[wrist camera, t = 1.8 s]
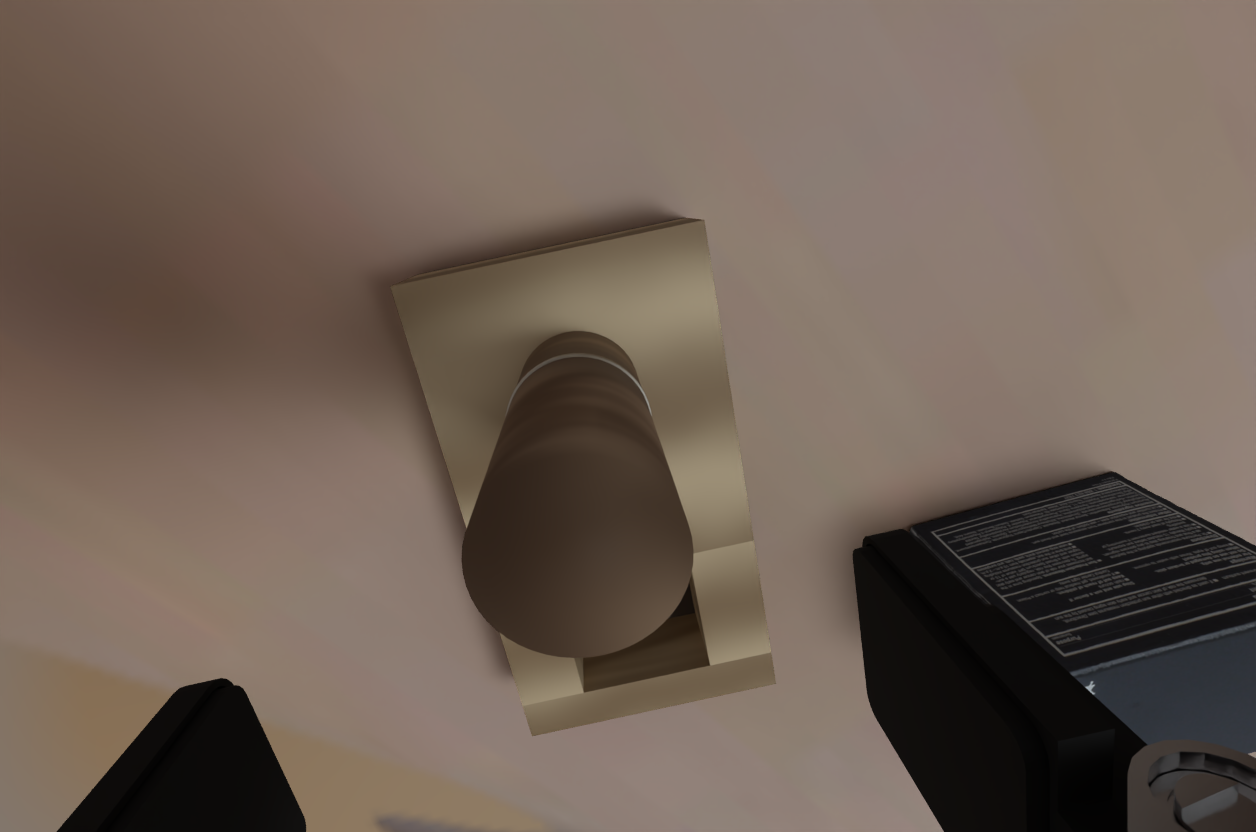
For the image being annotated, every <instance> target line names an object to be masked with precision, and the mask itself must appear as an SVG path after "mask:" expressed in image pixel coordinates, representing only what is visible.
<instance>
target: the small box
mask: <svg viewBox="0 0 1256 832" xmlns="http://www.w3.org/2000/svg"><path fill="white" fill-rule="evenodd" d="M909 534H910V535H911V536H912V537H913V538H914V539H915V540H916V541H917V542H919V543H920V544H921V545H922V546H923V547H924V548H925V549H926V550H927V551H928V552H929V553H930V554H931V555H932V556H933V557H934V558H935V559H936V560H938V561H939V562H940V563H941V564H942V565H943V566H944V567H945V568H946V569H947V570H948V571H949V572H950V573H951V574H952V575H953V576H954V577H955V578H957V579H958V580H959V581H960V582H961V583H962V584H963V585H964V586H965V587H966V588H967V589H968V590H969V591H970V592H971V593H972V594H973V595H974V596H976V597H977V598H978V599H979V600H980V601H981V602H982V603H983V604H991V605H995V606H996V607H997V608H999V609H1000V610H1002V611H1003V612H1004V613H1005V614H1006V615H1007V616H1008V617H1010V618H1011V619H1012V620H1013V621H1014V622H1015V623H1016V624H1017V625H1018V626H1019V627H1020V628H1021V629H1023V630H1024V631H1025V632H1026V633H1027V634H1028V635H1029V636H1030V637H1031V638H1032V639H1033V640H1034V641H1036V642H1037V643H1038V644H1039V645H1040V646H1041V647H1042V648H1043V649H1044V650H1045V651H1046V652H1047V653H1049V654H1050V655H1051V656H1052V657H1053V658H1054V659H1055V660H1056V661H1057V662H1058V663H1059V664H1061V665H1062V666H1063V667H1064V668H1065V669H1066V670H1067V671H1068V672H1069V673H1070V674H1071V675H1072V676H1074V677H1075V678H1076V679H1077V680H1078V681H1079V682H1080V683H1081V684H1082V685H1083V686H1084V687H1085V688H1087V689H1088V690H1089V691H1090V692H1091V693H1092V694H1093V695H1094V696H1095V697H1096V698H1097V699H1098V700H1100V701H1101V702H1102V703H1103V704H1104V705H1105V706H1106V707H1107V708H1108V709H1109V710H1110V711H1112V712H1113V713H1114V714H1115V715H1116V716H1117V717H1118V718H1119V719H1120V720H1121V721H1122V722H1123V723H1125V724H1126V725H1127V726H1128V727H1129V728H1130V729H1131V730H1132V731H1133V732H1134V733H1135V734H1136V735H1138V736H1139V737H1140V738H1141V739H1142V740H1143V741H1144V742H1145V743H1146V744H1147V745H1151V744H1154V743H1157V742H1160V741H1163V740H1195V741H1201V742H1207V743H1213V744H1218V745H1221V746H1224V747H1227V748H1230V749H1233V750H1236V751H1239V752H1242V753H1245V754H1248V753H1252V752H1256V546H1255V545H1253V544H1251V543H1249V542H1247V541H1245V540H1244V539H1242V538H1240V537H1238V536H1236V535H1234V534H1232V533H1230V532H1228V531H1226V530H1224V529H1222V528H1220V527H1218V526H1216V525H1214V524H1212V523H1210V522H1208V521H1206V520H1204V519H1202V518H1200V517H1198V516H1197V515H1195V514H1193V513H1191V512H1189V511H1187V510H1185V509H1183V508H1181V507H1178V506H1176V505H1175V504H1173V503H1172V502H1170V501H1168V500H1166V499H1164V498H1162V497H1160V496H1158V495H1155V494H1154V493H1152V492H1150V491H1148V490H1146V489H1145V488H1143V487H1141V486H1139V485H1137V484H1136V483H1133V482H1131V481H1130V480H1127V479H1126V478H1124V477H1123V476H1121V475H1120V474H1118V473H1116V472H1112V473H1108V474H1105V475H1101V476H1097V477H1093V478H1089V479H1085V480H1082V481H1078V482H1074V483H1071V484H1067V485H1063V486H1060V487H1056V488H1052V489H1048V490H1045V491H1041V492H1037V493H1034V494H1030V495H1026V496H1022V497H1019V498H1015V499H1012V500H1008V501H1004V502H1000V503H996V504H993V505H989V506H985V507H982V508H978V509H974V510H971V511H967V512H963V513H959V514H956V515H952V516H948V517H945V518H942V519H937V520H934V521H930V522H927V523H923V524H919V525H915V526H912V527H911V529H910V532H909Z"/></svg>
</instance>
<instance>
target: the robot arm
mask: <svg viewBox="0 0 1256 832" xmlns="http://www.w3.org/2000/svg"><path fill="white" fill-rule="evenodd" d="M862 546H863V547H862V548H857V549H855V550H854V551H853V564H854V574H855V583H856V593H857V602H858V612H859V621H860V631H861V640H862V650H863V659H864V669H865V678H866V688H867V694H868V699H869V702H870V705H871V708H872V711H873V713H874V715H875V717H876V719H877V721H878V722H879V724H880V726H881V727H882V729H883V731H884V732H885V734H886V736H887V737H888V739H889V741H890V742H891V744H892V746H893V747H894V749H895V751H896V752H897V754H898V756H899V757H900V759H901V761H902V762H903V764H904V766H905V767H906V769H907V771H908V772H909V774H910V776H911V777H912V779H913V781H914V782H915V784H916V786H917V787H918V789H919V791H920V792H921V794H922V796H923V797H924V799H925V801H926V802H927V804H928V806H929V807H930V809H931V811H932V812H933V814H934V816H935V817H936V819H937V821H938V822H939V824H940V826H941V827H942V829H943V831H944V832H1256V758H1254V757H1252V756H1250V755H1248V754H1245V753H1242V752H1239V751H1236V750H1233V749H1230V748H1227V747H1224V746H1221V745H1218V744H1213V743H1207V742H1201V741H1195V740H1163V741H1160V742H1157V743H1154V744H1151V745H1147V744H1146V743H1145V742H1144V741H1143V740H1142V739H1141V738H1140V737H1139V736H1138V735H1136V734H1135V733H1134V732H1133V731H1132V730H1131V729H1130V728H1129V727H1128V726H1127V725H1126V724H1125V723H1123V722H1122V721H1121V720H1120V719H1119V718H1118V717H1117V716H1116V715H1115V714H1114V713H1113V712H1112V711H1110V710H1109V709H1108V708H1107V707H1106V706H1105V705H1104V704H1103V703H1102V702H1101V701H1100V700H1098V699H1097V698H1096V697H1095V696H1094V695H1093V694H1092V693H1091V692H1090V691H1089V690H1088V689H1087V688H1085V687H1084V686H1083V685H1082V684H1081V683H1080V682H1079V681H1078V680H1077V679H1076V678H1075V677H1074V676H1072V675H1071V674H1070V673H1069V672H1068V671H1067V670H1066V669H1065V668H1064V667H1063V666H1062V665H1061V664H1059V663H1058V662H1057V661H1056V660H1055V659H1054V658H1053V657H1052V656H1051V655H1050V654H1049V653H1047V652H1046V651H1045V650H1044V649H1043V648H1042V647H1041V646H1040V645H1039V644H1038V643H1037V642H1036V641H1034V640H1033V639H1032V638H1031V637H1030V636H1029V635H1028V634H1027V633H1026V632H1025V631H1024V630H1023V629H1021V628H1020V627H1019V626H1018V625H1017V624H1016V623H1015V622H1014V621H1013V620H1012V619H1011V618H1010V617H1008V616H1007V615H1006V614H1005V613H1004V612H1003V611H1002V610H1000V609H999V608H997V607H996V606H995V605H991V604H983V603H982V602H981V601H980V600H979V599H978V598H977V597H976V596H974V595H973V594H972V593H971V592H970V591H969V590H968V589H967V588H966V587H965V586H964V585H963V584H962V583H961V582H960V581H959V580H958V579H957V578H955V577H954V576H953V575H952V574H951V573H950V572H949V571H948V570H947V569H946V568H945V567H944V566H943V565H942V564H941V563H940V562H939V561H938V560H936V559H935V558H934V557H933V556H932V555H931V554H930V553H929V552H928V551H927V550H926V549H925V548H924V547H923V546H922V545H921V544H920V543H919V542H917V541H916V540H915V539H914V538H913V537H912V536H911V535H910V534H909V533H908V532H907V531H905V530H904V529H898V530H893V531H889V532H884V533H879V534H875V535H870V536H866V537H865V538H864V539H863V544H862ZM57 832H306V822H305V818H304V816H303V814H302V811H301V809H300V808H299V805H298V803H297V801H296V799H295V796H294V794H293V792H292V790H291V788H290V786H289V784H288V781H287V779H286V777H285V775H284V773H283V771H282V769H281V767H280V764H279V762H278V760H277V758H276V756H275V754H274V752H273V750H272V748H271V745H270V743H269V741H268V739H267V737H266V735H265V733H264V730H263V728H262V726H261V724H260V722H259V720H258V718H257V716H256V713H255V711H254V709H253V707H252V705H251V703H250V701H249V698H248V696H247V694H246V692H245V691H244V689H243V688H241V687H240V686H236V685H233V684H232V682H230V681H229V680H227V679H223V678H220V679H215V680H211V681H206V682H202V683H197V684H193V685H188V686H185V687H182V688H179V689H178V690H177V691H176V692H175V693H174V694H173V695H172V696H171V697H170V698H169V700H168V701H167V702H166V703H165V705H164V706H163V707H162V708H161V709H160V710H159V712H158V713H157V714H156V715H155V716H154V717H153V718H152V720H151V721H150V722H149V723H148V725H147V726H146V727H145V728H144V729H143V730H142V731H141V733H140V734H139V735H138V736H137V737H136V739H135V740H134V741H133V742H132V743H131V745H130V746H129V747H128V748H127V749H126V750H125V752H124V753H123V754H122V755H121V756H120V758H119V759H118V760H117V761H116V762H115V763H114V765H113V766H112V767H111V768H110V769H109V771H108V772H107V773H106V774H105V775H104V776H103V778H102V779H101V780H100V781H99V782H98V784H97V785H96V786H95V787H94V788H93V789H92V791H91V792H90V793H89V794H88V795H87V797H86V798H85V799H84V800H83V801H82V802H81V804H80V805H79V806H78V807H77V808H76V810H75V811H74V812H73V813H72V814H71V815H70V817H69V818H68V819H67V820H66V821H65V822H64V824H63V825H62V826H61V827H60V829H59V830H58V831H57Z"/></svg>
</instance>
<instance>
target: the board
mask: <svg viewBox="0 0 1256 832" xmlns="http://www.w3.org/2000/svg"><path fill="white" fill-rule="evenodd" d="M390 288H391V291H392V294H393V298H394V301H395V304H396V307H397V310H398V313H399V317H400V320H401V323H402V326H403V329H404V332H405V336H406V339H407V342H408V345H409V348H410V351H411V355H412V358H413V361H414V364H415V367H416V370H417V374H418V377H419V380H420V383H421V386H422V389H423V392H424V396H425V399H426V402H427V405H428V408H429V411H430V415H431V418H432V421H433V424H434V427H435V430H436V434H437V437H438V440H439V443H440V446H441V449H442V453H443V456H444V459H445V462H446V465H447V468H448V472H449V475H450V478H451V481H452V484H453V487H454V491H455V494H456V497H457V500H458V503H459V506H460V509H461V513H462V516H463V519H464V522H465V525H466V528H467V526H468V523H469V520H470V518H471V515H472V512H473V509H474V506H475V503H476V500H477V498H478V495H479V492H480V489H481V486H482V483H483V480H484V478H485V475H486V472H487V469H488V466H489V463H490V460H491V458H492V455H493V452H494V449H495V446H496V443H497V440H498V438H499V435H500V432H501V429H502V426H503V423H504V420H505V417H506V412H507V407H508V404H509V401H510V398H511V396H512V394H513V392H514V390H515V388H516V386H517V383H518V380H519V377H520V375H521V372H522V369H523V366H524V364H525V362H526V361H527V359H528V357H529V356H530V355H531V353H532V352H533V351H534V350H535V349H536V348H537V347H538V346H539V345H540V344H542V343H543V342H544V341H546V340H548V339H549V338H551V337H553V336H556V335H558V334H562V333H565V332H571V331H586V332H592V333H596V334H599V335H602V336H604V337H606V338H608V339H610V340H612V341H613V342H615V343H616V344H617V345H619V346H620V347H621V348H622V349H623V350H624V351H625V352H626V354H627V355H628V356H629V358H630V359H631V361H632V363H633V365H634V367H635V369H636V372H637V375H638V378H639V381H640V384H641V387H642V389H643V391H644V392H645V395H646V397H647V399H648V402H649V406H650V409H651V414H652V419H653V422H654V425H655V428H656V431H657V433H658V436H659V439H660V442H661V445H662V448H663V451H664V454H665V457H666V460H667V463H668V466H669V469H670V471H671V474H672V477H673V480H674V483H675V486H676V489H677V492H678V495H679V498H680V501H681V504H682V507H683V509H684V512H685V515H686V518H687V521H688V524H689V528H690V531H691V535H692V541H693V550H694V553H693V567H692V573H691V578H690V581H689V584H688V587H687V589H686V592H685V594H684V596H683V598H682V600H681V601H680V603H679V604H678V606H677V607H676V609H675V610H674V612H673V613H672V614H671V615H670V617H669V618H668V619H667V620H666V621H665V622H664V623H663V624H662V625H661V626H660V627H659V628H657V629H656V630H655V631H654V632H653V633H651V634H650V635H648V636H647V637H645V638H644V639H643V640H641V641H639V642H637V643H635V644H633V645H631V646H629V647H627V648H624V649H622V650H619V651H616V652H613V653H609V654H605V655H601V656H594V657H586V658H566V657H557V656H551V655H546V654H542V653H539V652H535V651H532V650H530V649H527V648H525V647H523V646H520V645H518V644H517V643H515V642H513V641H511V640H509V639H508V638H506V637H505V636H504V635H502V634H501V633H500V632H499V633H500V636H501V639H502V642H503V645H504V649H505V652H506V655H507V658H508V661H509V664H510V668H511V671H512V674H513V677H514V680H515V683H516V687H517V690H518V693H519V696H520V699H521V702H522V706H523V709H524V712H525V715H526V718H527V721H528V725H529V728H530V731H531V734H532V736H536V735H540V734H545V733H550V732H554V731H559V730H564V729H568V728H573V727H577V726H582V725H587V724H591V723H596V722H601V721H605V720H610V719H615V718H619V717H624V716H628V715H633V714H638V713H642V712H647V711H652V710H656V709H661V708H666V707H670V706H675V705H679V704H684V703H689V702H693V701H698V700H703V699H707V698H712V697H717V696H721V695H726V694H730V693H735V692H740V691H744V690H749V689H754V688H758V687H763V686H768V685H772V684H776V681H775V674H774V668H773V662H772V655H771V649H770V642H769V636H768V629H767V623H766V616H765V610H764V603H763V597H762V590H761V584H760V577H759V571H758V565H757V558H756V552H755V545H754V539H753V532H752V526H751V519H750V513H749V506H748V500H747V493H746V487H745V480H744V474H743V468H742V461H741V455H740V448H739V442H738V435H737V429H736V422H735V416H734V409H733V403H732V396H731V390H730V383H729V377H728V371H727V364H726V358H725V351H724V345H723V338H722V332H721V325H720V319H719V312H718V306H717V299H716V293H715V286H714V280H713V274H712V267H711V261H710V254H709V248H708V241H707V235H706V228H705V222H704V220H701V219H692V218H683V219H678V220H673V221H668V222H664V223H659V224H654V225H650V226H645V227H640V228H635V229H631V230H626V231H621V232H617V233H612V234H607V235H602V236H598V237H593V238H588V239H583V240H579V241H574V242H569V243H565V244H560V245H555V246H550V247H546V248H541V249H536V250H531V251H527V252H522V253H517V254H513V255H508V256H503V257H498V258H494V259H489V260H484V261H479V262H475V263H470V264H465V265H461V266H456V267H451V268H446V269H442V270H437V271H432V272H428V273H423V274H418V275H416V276H413V277H411V278H409V279H406V280H404V281H401V282H399V283H397V284H394V285H392V286H390Z"/></svg>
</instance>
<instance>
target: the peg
mask: <svg viewBox="0 0 1256 832" xmlns="http://www.w3.org/2000/svg"><path fill="white" fill-rule="evenodd" d="M693 553H694V550H693V541H692V535H691V531H690V528H689V524H688V521H687V518H686V515H685V512H684V509H683V507H682V504H681V501H680V498H679V495H678V492H677V489H676V486H675V483H674V480H673V477H672V474H671V471H670V469H669V466H668V463H667V460H666V457H665V454H664V451H663V448H662V445H661V442H660V439H659V436H658V433H657V431H656V428H655V425H654V422H653V419H652V414H651V409H650V406H649V402H648V399H647V397H646V395H645V392H644V391H643V389H642V387H641V384H640V381H639V378H638V375H637V372H636V369H635V367H634V365H633V363H632V361H631V359H630V358H629V356H628V355H627V354H626V352H625V351H624V350H623V349H622V348H621V347H620V346H619V345H617V344H616V343H615V342H613V341H612V340H610V339H608V338H606V337H604V336H602V335H599V334H596V333H592V332H586V331H571V332H565V333H562V334H558V335H556V336H553V337H551V338H549V339H548V340H546V341H544V342H543V343H542V344H540V345H539V346H538V347H537V348H536V349H535V350H534V351H533V352H532V353H531V355H530V356H529V357H528V359H527V361H526V362H525V364H524V366H523V369H522V372H521V375H520V377H519V380H518V383H517V386H516V388H515V390H514V392H513V394H512V396H511V398H510V401H509V404H508V407H507V412H506V417H505V420H504V423H503V426H502V429H501V432H500V435H499V438H498V440H497V443H496V446H495V449H494V452H493V455H492V458H491V460H490V463H489V466H488V469H487V472H486V475H485V478H484V480H483V483H482V486H481V489H480V492H479V495H478V498H477V500H476V503H475V506H474V509H473V512H472V515H471V518H470V520H469V523H468V526H467V529H466V532H465V536H464V541H463V546H462V568H463V575H464V579H465V583H466V587H467V589H468V592H469V594H470V597H471V599H472V600H473V602H474V604H475V606H476V607H477V609H478V610H479V612H480V613H481V614H482V616H483V617H484V618H485V619H486V621H487V622H489V623H490V624H491V625H492V626H493V627H494V628H495V629H496V630H497V631H498V632H500V633H501V634H502V635H504V636H505V637H506V638H508V639H509V640H511V641H513V642H515V643H517V644H518V645H520V646H523V647H525V648H527V649H530V650H532V651H535V652H539V653H542V654H546V655H551V656H557V657H566V658H586V657H594V656H601V655H605V654H609V653H613V652H616V651H619V650H622V649H624V648H627V647H629V646H631V645H633V644H635V643H637V642H639V641H641V640H643V639H644V638H645V637H647V636H648V635H650V634H651V633H653V632H654V631H655V630H656V629H657V628H659V627H660V626H661V625H662V624H663V623H664V622H665V621H666V620H667V619H668V618H669V617H670V615H671V614H672V613H673V612H674V610H675V609H676V607H677V606H678V604H679V603H680V601H681V600H682V598H683V596H684V594H685V592H686V589H687V587H688V584H689V581H690V578H691V573H692V567H693Z"/></svg>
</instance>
